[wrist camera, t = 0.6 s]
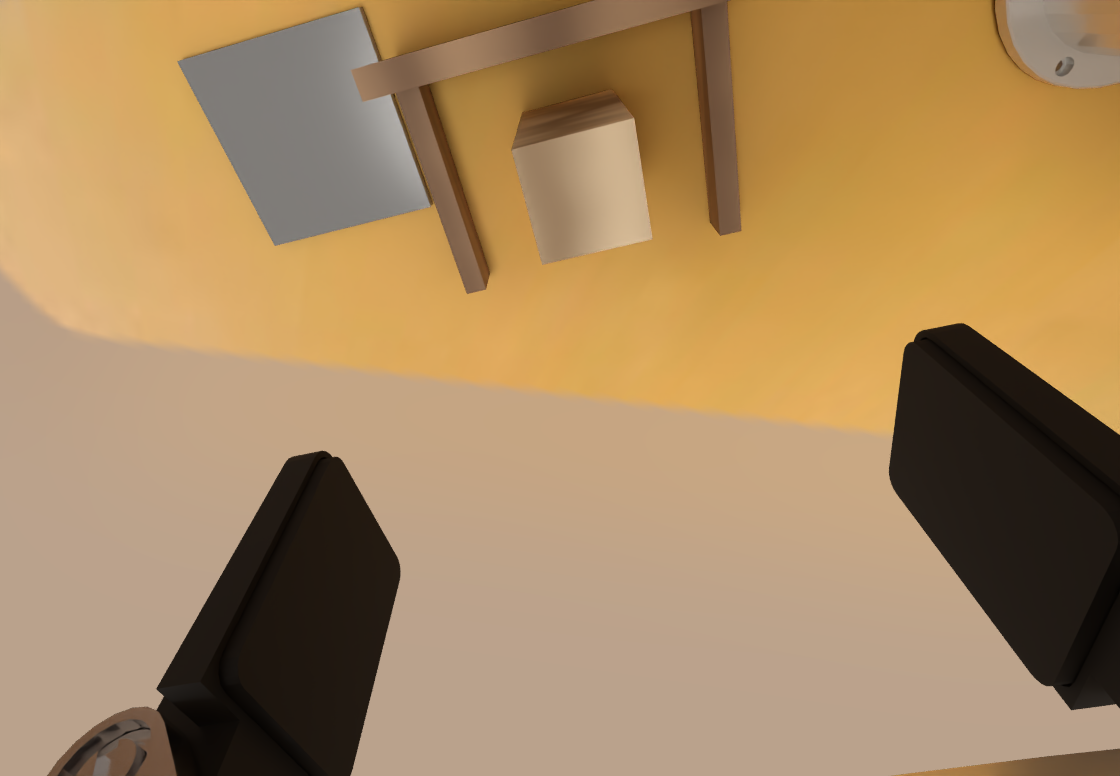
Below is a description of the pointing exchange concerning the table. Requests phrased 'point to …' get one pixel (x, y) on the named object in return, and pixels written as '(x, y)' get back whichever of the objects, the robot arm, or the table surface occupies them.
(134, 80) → the table surface
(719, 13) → the wooden arch bench
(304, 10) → the table surface
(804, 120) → the table surface
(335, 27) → the coaster
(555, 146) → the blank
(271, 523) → the robot arm
